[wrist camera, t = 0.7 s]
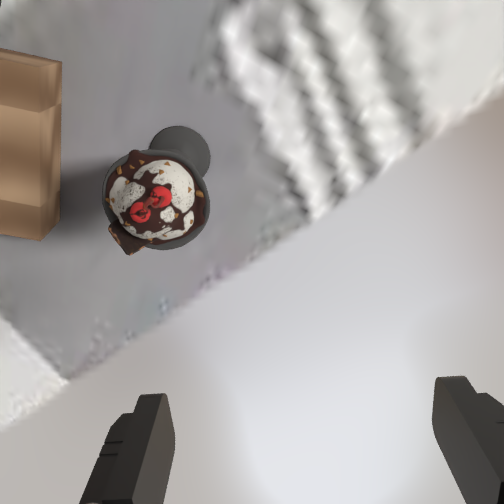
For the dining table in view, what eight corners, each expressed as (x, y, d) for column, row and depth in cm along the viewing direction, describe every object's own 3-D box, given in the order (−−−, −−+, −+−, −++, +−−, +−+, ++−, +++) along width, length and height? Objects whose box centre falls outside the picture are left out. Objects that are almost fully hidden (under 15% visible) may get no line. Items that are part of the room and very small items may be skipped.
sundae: (208, 105, 34) (179, 161, 21) (229, 185, 38) (215, 278, 24) (127, 123, 35) (51, 190, 22) (154, 201, 38) (102, 300, 25)
